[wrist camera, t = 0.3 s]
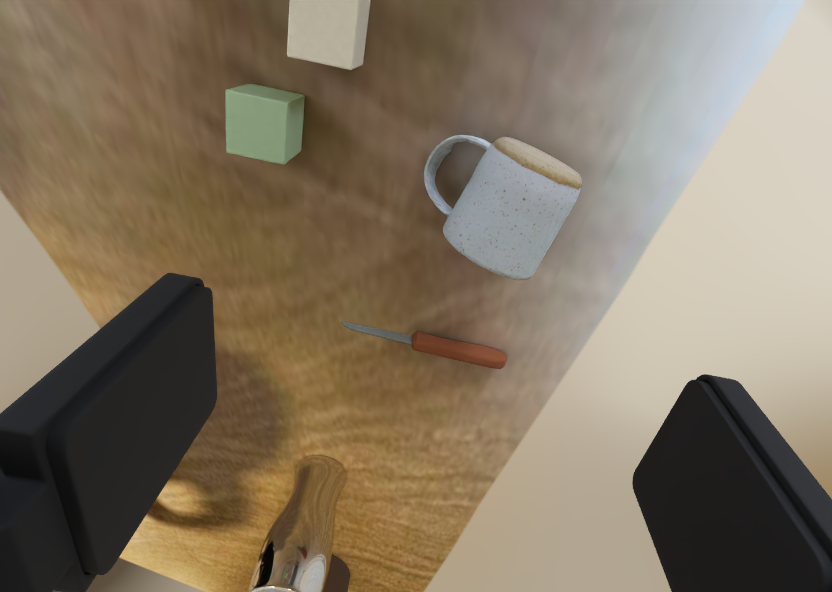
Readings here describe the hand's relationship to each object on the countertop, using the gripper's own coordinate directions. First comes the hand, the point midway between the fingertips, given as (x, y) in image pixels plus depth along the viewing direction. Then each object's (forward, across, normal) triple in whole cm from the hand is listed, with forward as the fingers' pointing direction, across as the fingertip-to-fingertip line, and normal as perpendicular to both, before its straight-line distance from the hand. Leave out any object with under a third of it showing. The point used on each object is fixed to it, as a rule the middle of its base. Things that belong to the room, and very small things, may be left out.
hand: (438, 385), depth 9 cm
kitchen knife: (+30, -1, +19) cm, 36 cm away
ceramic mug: (+30, -4, +4) cm, 31 cm away
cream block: (+30, +9, -5) cm, 32 cm away
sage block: (+30, +13, +2) cm, 33 cm away
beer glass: (+31, +7, +41) cm, 52 cm away
